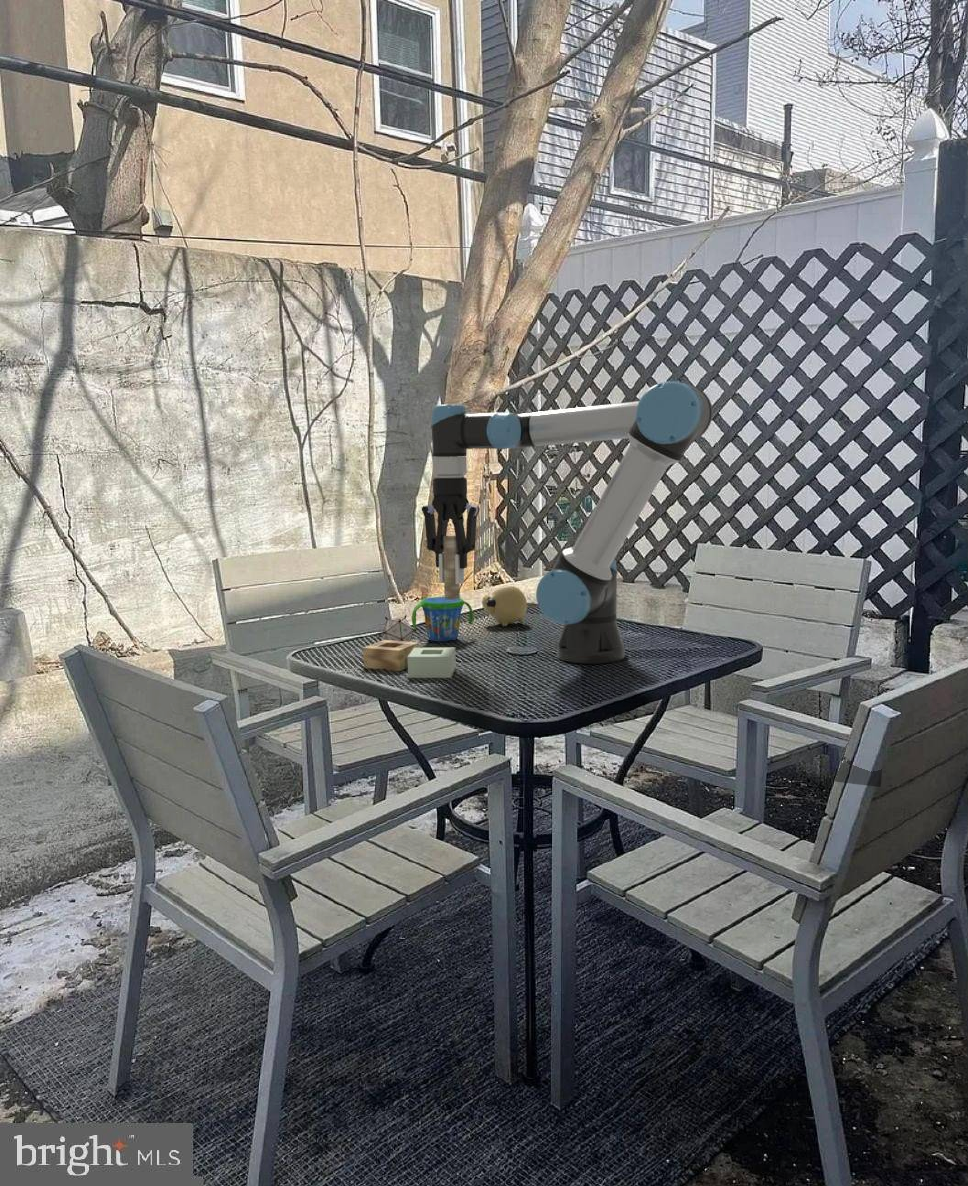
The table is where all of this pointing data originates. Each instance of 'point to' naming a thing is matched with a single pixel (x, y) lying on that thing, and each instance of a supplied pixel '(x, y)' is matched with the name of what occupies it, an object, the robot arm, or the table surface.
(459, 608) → the snack cup
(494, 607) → the beige fuzzy round body
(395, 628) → the game die
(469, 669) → the table surface
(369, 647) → the wooden square ring
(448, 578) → the dowel
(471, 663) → the table surface
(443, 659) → the sage bead
